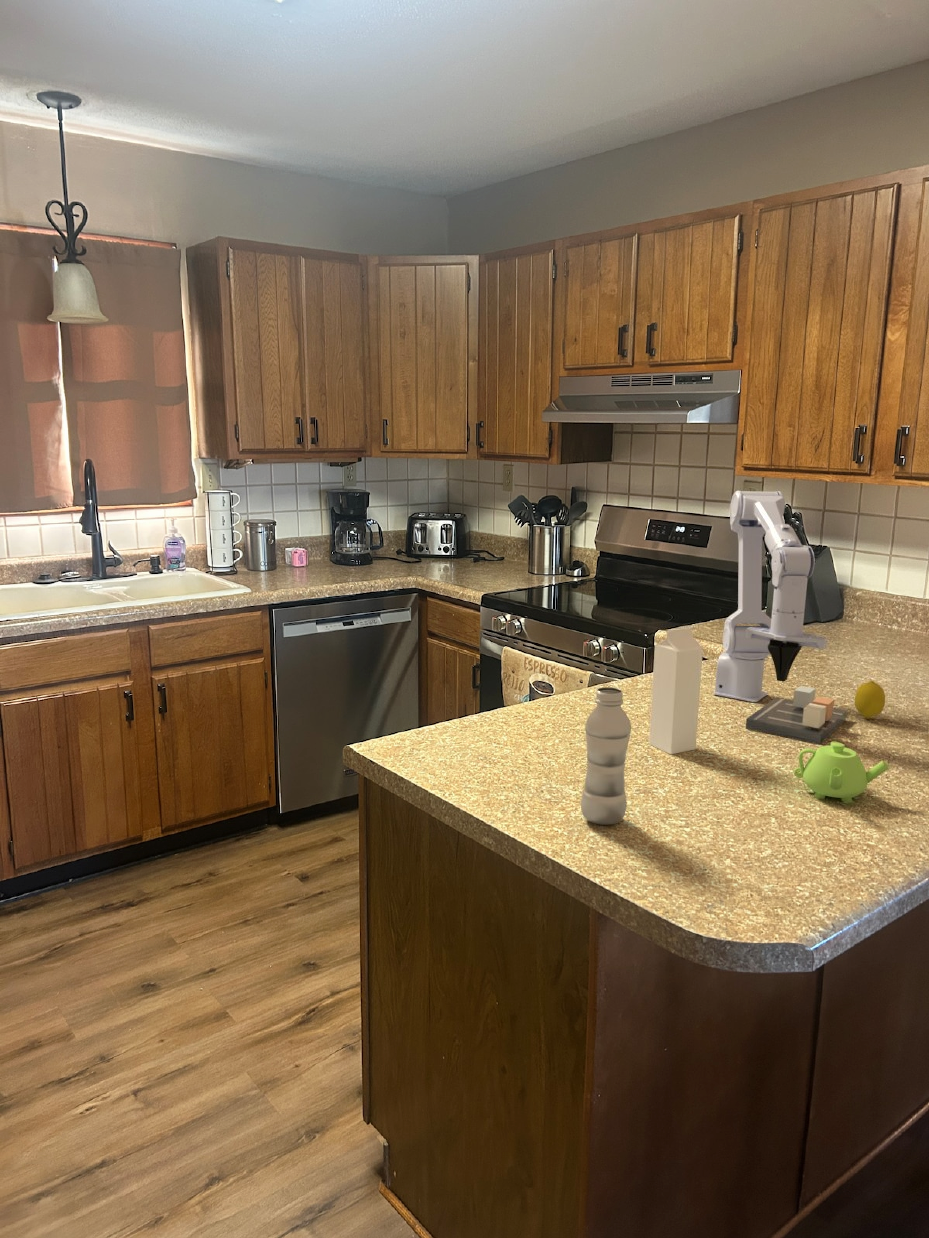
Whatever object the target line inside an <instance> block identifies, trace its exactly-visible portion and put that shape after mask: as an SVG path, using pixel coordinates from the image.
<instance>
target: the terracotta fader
mask: <svg viewBox="0 0 929 1238" xmlns="http://www.w3.org/2000/svg"><path fill="white" fill-rule="evenodd" d="M812 704H817V705H822V706H826V715H825V721H827V720H828V719H830V718H831V717H832V716H833V708H835V707H834V706H835V699H834V698H829V697H823V696H817V697H815V700H813V701H812Z"/></svg>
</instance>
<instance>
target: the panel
mask: <svg viewBox="0 0 929 1238" xmlns="http://www.w3.org/2000/svg"><path fill="white" fill-rule="evenodd" d="M793 700H794V699H787V698H780V697H775V698H774V699H772V700H770V701H769V702H768V703H767V704H765V705H763V706H762V707H761V708H760V709H757V711H756V712H754V713H753V714H751V715H750V716H748V717H747V718H746V719H745V720H746V721H745V729H746V730H750V731H754V732H760V733H765V734H768V735H769V734H770V735H774V736H779V737H783V738H787V739H788V738H789V739H794V740H798V741H801V742H802V741H803V742H807V743H813V744H817V745H822V743H823V742H825V740H826V739H828V738H829V737H830V736H831V735H832V734H833V733H834V732H835V731H836V730H837V729H839V727H841V725H842V724H844V722H845V721H846V720H847V712H848V711H847V709H840V708H835V707H833V716H832V717H831V718H830V719H828V720H827V721H825V723H824V724H823V725H822V726H821V727H820V728H814V727H809V726H804V725H802V721H803V711H804V708H801V707H796V706H793Z"/></svg>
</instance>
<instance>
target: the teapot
mask: <svg viewBox="0 0 929 1238" xmlns="http://www.w3.org/2000/svg"><path fill="white" fill-rule="evenodd" d="M845 746H846V745H845V744H843V743H841V742H839V741H831V742H830V745H822V746H820V747H819V748H817V750H815V749H812V748H810V747H809V748H803V749H802V750H801V751H799V753H798V765H799V767H795V769H793V774H794V776H795V777H797V778H800V779H801V778H802V779H803V780H802V781H804V783H805V785H806V786H807V787H808V788H809V789H810V790H811V791H812V792H814V794H813V798H814V799H816V800H824V799H825V798H826V797H831V798H838V799H841V801H840V802H842V803H844V804H853V803H854V800H853V798H855V797H858V796H860V795H861V794H862V793H864V792H865V790H867V787H868V784H869V783H871V782H872V781H873V780H875V779H877V778H878V777H880V775H883V774H884V773H885V772H887V771H888V770H890V766H889V765H888V764H887V763H886V762H885V761H884V760H881V761H880V762H879V763H877V764H875V765H874V766H873V767H871V768H870V769H869V770H866V768H865V766H864V763H863V761H862V759H861V757H860V756H859V755H858V753H857V752H856V751H855V750H853V749H851V748H848V747H845ZM806 753H807V754H808V753H809V754H812V755H811V756H810V757H809V759H808V760H807V762H806V763H805V765H804V761H803V760H804V758H803V757H804V754H806ZM798 771H800V773H799V772H798Z"/></svg>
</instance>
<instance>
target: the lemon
mask: <svg viewBox="0 0 929 1238" xmlns="http://www.w3.org/2000/svg"><path fill="white" fill-rule="evenodd" d="M854 705H855V709H856V710H857V712H858V713H859V714H860V715H861V716H863V717H864V719H866V720H870V719H871V718H873V717H876V716H878V715H880V714H881V713H882V712H883V710H884V709H885V708H884V707H885V705H886V694H885V691H884V689H883V687H882V686H881V685H879V684H878V683H877V682H875V681H874V680H870V681H868V682H865V683H862V684H861V685H859V687H857V690H856V692H855V695H854Z"/></svg>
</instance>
